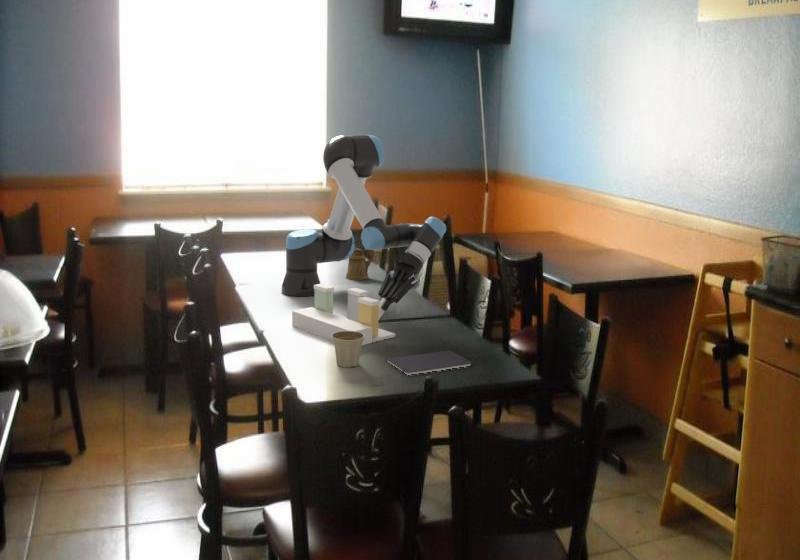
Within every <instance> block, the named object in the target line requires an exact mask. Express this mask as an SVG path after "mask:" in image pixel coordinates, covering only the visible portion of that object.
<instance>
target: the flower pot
mask: <svg viewBox="0 0 800 560" xmlns="http://www.w3.org/2000/svg"><path fill="white" fill-rule="evenodd" d="M331 337H332V338H333V340H332V342H333V344H334V351H335V358H336V359H335V360H336V365H338V367H340V366H342V367H341V368H346V367H348V368H351V367H353V366H355V367H358V365H359V363H360V358H361V350H362V346H363V345H362V342H363V338H364V337H365V335H364V334H363V333H361V332H357V331H339V332H335V333H333V334H332V335H331Z"/></svg>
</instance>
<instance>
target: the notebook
mask: <svg viewBox="0 0 800 560" xmlns="http://www.w3.org/2000/svg"><path fill="white" fill-rule="evenodd" d="M386 361H387V362H386V363H388V362H389V363H390V364H389V363H388V364H389V365H391V364H392V365H393V366H392V365H391V366H392V367H394V366H395V367H396V368H398V369H399V370H401V371H402V372H404V373H405V374H407V375H406V376H408V375H410V376H412V375H411V374H417V375H419V374H418V373H424V374H428V373H427V372H431V373H433V372H432V371H437V372H442V371H441V370H444V371H447V370H446V369H451V370H453V369H452V368H457V369H460V368H459V367H464V368H467V367H466V366H470V365H471V364H472V361H470V360H468V359H466V358H464V357H463V356H461V355H459V354H458V353H456V352H454V351H452V350H440V351H435V352H426V353H420V354H412V355H405V356H397V357H389V358H386ZM395 367H394V368H395ZM470 367H471V366H470ZM398 369H397V370H398ZM399 370H398V371H399ZM401 371H400V372H401ZM402 372H401V373H402ZM404 373H403V374H404ZM405 374H404V375H405Z"/></svg>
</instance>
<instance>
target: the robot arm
mask: <svg viewBox="0 0 800 560" xmlns="http://www.w3.org/2000/svg"><path fill="white" fill-rule="evenodd" d="M322 157H323V158H322V159H323V164H324V165H323V166H324V168H325V171H326V173H327V174H328V176H329V177H330V178H331V179H334V181H335V182H336V184H337V186H338V190H337V194H336V196H335V199H334V203H333V206H332V208H331V209H332V210H331V213H330V216H329V219H328V221H327V222H325V223H324V224H323V225H322V228H321V231H319V232H318V231H317V230H316V229H312V228H311V229H310V228H308V229H307V228H306V229H298V230H294V231H292V232H290V233H288V234H287V236H286V240H285V241H286V243H285V250H286V251H285V252H286V253H285V256H286V257H285V263H286V265H285V269H286V271H285V275H284V278H283V282H282V284H281V293H282V294H283V295H286V296H290V297H291V296H292V297H311V296H315V289H314V285H316V284H322V283H321V280H320V277H319V274H318V264H323V263H331V262H332V263H333V262H341V261H345V260H349V257H350V256H351V255H352V253H353V251H354V250H355V247H356V245H355V236H354V235H353V232H352V229H351V227H352V223H353V221H354V219H355V218H356V220H357V221H358V223H359V225H360V227H361V229H362V230H361V231H362V232H361V234H360V238H361V239H360V240H361V244H362V246H363V247H364V249H368V250H372V251H379V250H385V249H391V248H392V249H393V248H395V249H396V248H402V247H406V250H405V252H404V253H403V254H402V255H401V256H400V258H399V259H398V265H397V266H395V268H394V269H393V270H389V269H387V270H386V272H385V278H384V279H383V282H382V284H381V286H380V288H379V290H378V296H379V297H380V299H378V300H379V301H380V304H379V318H378V321H380V319H381V317H382V316H383V314H384V313H385V312H386V311H387V310H388V309H389V307H390V306H391V305H392V304H393V303H395V304H397V303H399V302H400V301H401V300H402V299H403V297H404V296H405V295H406V294H408V292H409V291H410V290H411V289H412V288H413V287H414V286H415V285H417V284H418V283H419V280H417V278H416V276H417V275H418V274H419V273H420V271H422V268H423V267H424V265H425V264H426V263H427V261H428V259H429V258H430V256H431V255H432V253H433V252H434V251H435V249H436V248H437V246H438V244H439V243H440V242H441V240H442V239H443V237H444V235H445V233H446V232H447V226H446V224H445V223H444V222H443V221H442V220H441V219H439V218H437V217H435V216H430V217H429V216H428V218H427V219H426V220H425V221H424V223H410V222H401V223H398V224H389V225H387V224H386V222H385V220H384V219H383V217H382V216H381V214H380V212H379V211H378V208H377V207H376V205H375V203H374V201H373V200H372V198H371V195H370V194H369V193H368V191H367V189H366V187H365V184H366V181H367V179H369V178H371V177H372V176H373V173H374V170H375V169H378V168H380V167H382V165H383V164H384V161H385V149H384V145H383V143H382V141H381V139H380V138H379V137H377V136H376V135H371V134H356V135H354V134H349V135H348V134H346V135H345V134H341V135H337V136H335V137H333V138H331V139H330V140H329V141H328V142H327V144H326V146H325V147H324V151H323V155H322Z"/></svg>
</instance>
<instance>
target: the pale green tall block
mask: <svg viewBox="0 0 800 560" xmlns="http://www.w3.org/2000/svg"><path fill="white" fill-rule="evenodd" d="M314 289H315V295H314V300H313V301H314V303H313V304H314V306H313V308H316V309H319V310H322V311H325V312H328V313H331V314H334V291H335V287H334V286H332V285H329V284H325V283H321V284H316V285H314Z"/></svg>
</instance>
